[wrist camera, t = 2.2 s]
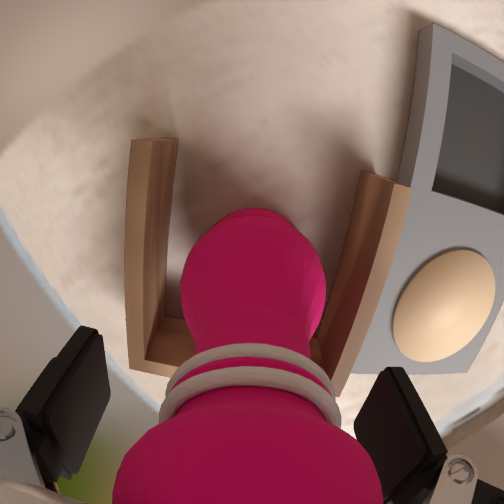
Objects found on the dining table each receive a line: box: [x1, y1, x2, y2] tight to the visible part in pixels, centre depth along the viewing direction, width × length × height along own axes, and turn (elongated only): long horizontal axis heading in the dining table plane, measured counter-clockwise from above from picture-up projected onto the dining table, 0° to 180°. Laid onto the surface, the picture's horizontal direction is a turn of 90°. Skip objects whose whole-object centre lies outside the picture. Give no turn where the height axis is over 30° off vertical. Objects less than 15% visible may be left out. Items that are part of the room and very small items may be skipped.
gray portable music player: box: [350, 23, 504, 374], centre depth 18 cm, size 12×24×2 cm, turn 171°
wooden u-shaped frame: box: [125, 138, 412, 397], centre depth 18 cm, size 13×13×5 cm
